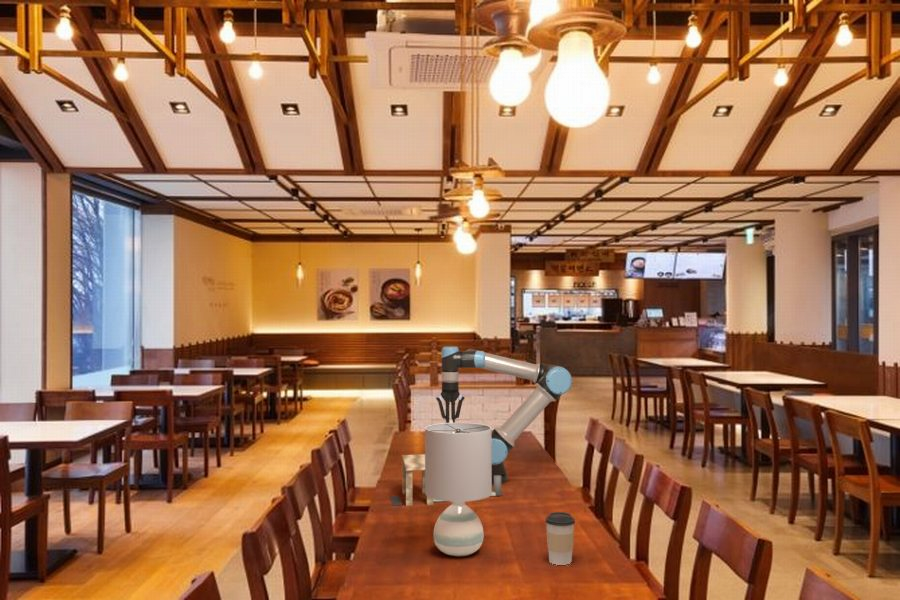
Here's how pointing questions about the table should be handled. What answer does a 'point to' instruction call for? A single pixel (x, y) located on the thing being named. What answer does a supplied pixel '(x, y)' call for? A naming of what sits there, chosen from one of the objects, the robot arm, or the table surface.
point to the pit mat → (396, 500)
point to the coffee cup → (560, 537)
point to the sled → (496, 487)
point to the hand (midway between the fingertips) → (450, 434)
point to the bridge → (407, 466)
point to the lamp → (458, 482)
